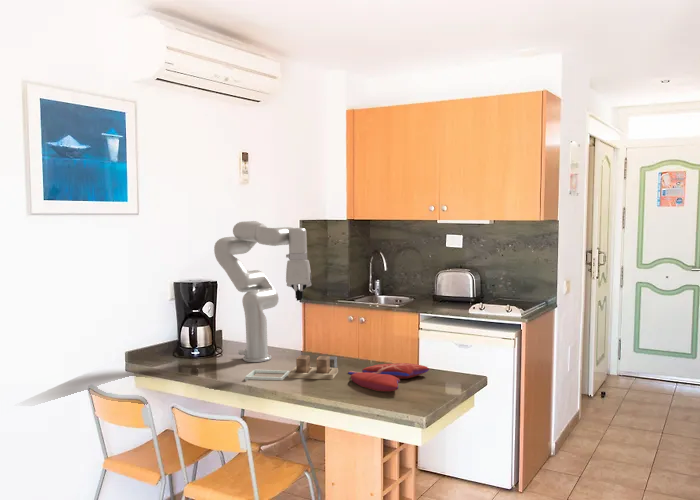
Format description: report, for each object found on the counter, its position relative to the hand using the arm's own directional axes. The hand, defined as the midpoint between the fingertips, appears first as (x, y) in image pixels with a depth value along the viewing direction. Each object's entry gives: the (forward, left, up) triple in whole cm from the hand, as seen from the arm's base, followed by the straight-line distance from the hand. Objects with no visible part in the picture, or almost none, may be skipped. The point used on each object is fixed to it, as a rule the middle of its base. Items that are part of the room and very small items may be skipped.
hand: (299, 300), depth 258 cm
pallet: (+9, -14, -29) cm, 34 cm away
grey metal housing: (+13, -5, -29) cm, 32 cm away
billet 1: (+5, -14, -28) cm, 32 cm away
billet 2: (+13, -15, -28) cm, 34 cm away
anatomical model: (+36, -16, -30) cm, 49 cm away
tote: (-9, -18, -29) cm, 36 cm away
